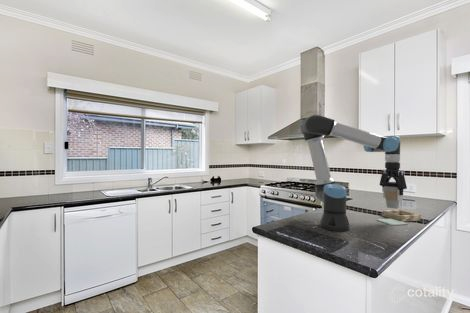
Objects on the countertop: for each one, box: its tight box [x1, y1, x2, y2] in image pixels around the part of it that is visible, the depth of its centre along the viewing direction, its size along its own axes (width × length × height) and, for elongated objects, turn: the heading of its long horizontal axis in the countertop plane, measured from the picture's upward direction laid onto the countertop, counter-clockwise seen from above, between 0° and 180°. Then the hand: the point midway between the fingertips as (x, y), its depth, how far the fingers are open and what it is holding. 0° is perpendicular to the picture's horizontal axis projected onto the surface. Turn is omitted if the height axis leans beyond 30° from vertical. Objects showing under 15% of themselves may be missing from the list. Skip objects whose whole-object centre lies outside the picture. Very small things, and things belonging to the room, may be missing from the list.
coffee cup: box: [383, 181, 400, 210], centre depth 142 cm, size 9×9×15 cm
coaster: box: [376, 218, 409, 227], centre depth 142 cm, size 11×11×1 cm
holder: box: [382, 209, 422, 223], centre depth 152 cm, size 14×14×4 cm
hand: (392, 199), depth 142 cm, fingers closed on coffee cup, 9 cm apart
